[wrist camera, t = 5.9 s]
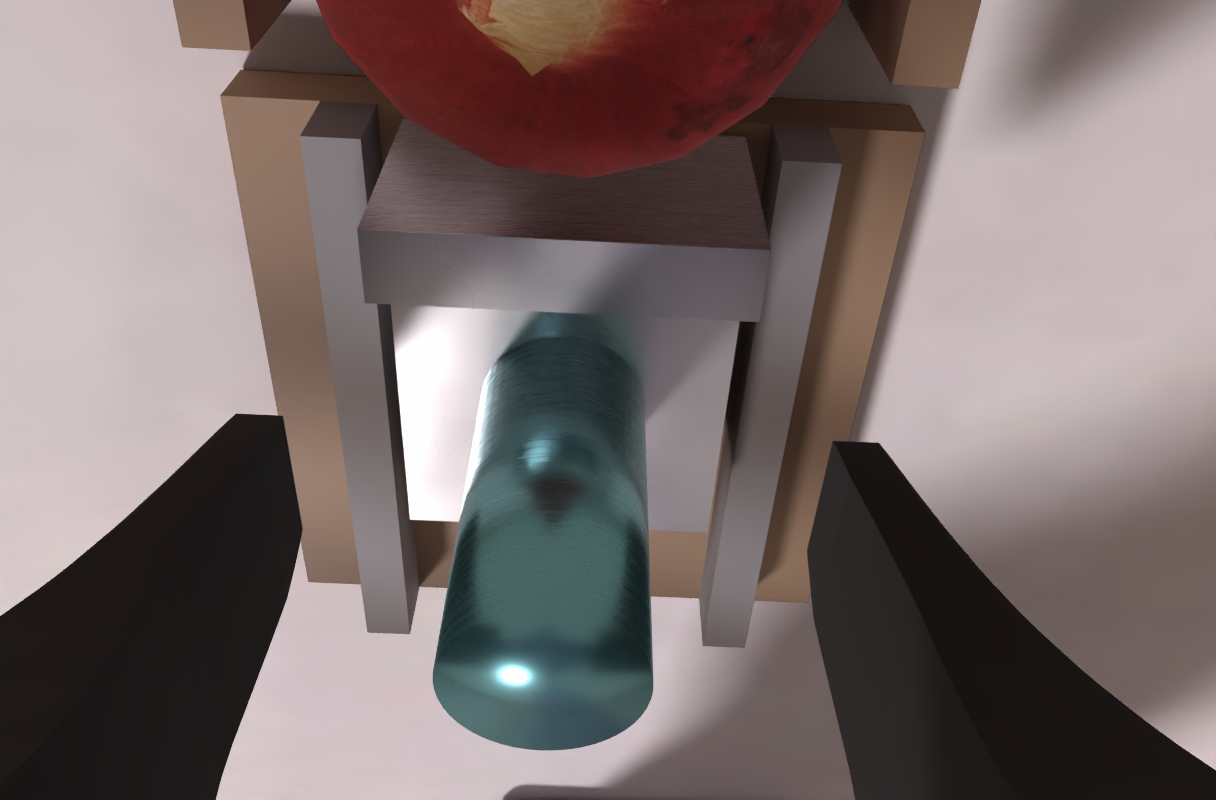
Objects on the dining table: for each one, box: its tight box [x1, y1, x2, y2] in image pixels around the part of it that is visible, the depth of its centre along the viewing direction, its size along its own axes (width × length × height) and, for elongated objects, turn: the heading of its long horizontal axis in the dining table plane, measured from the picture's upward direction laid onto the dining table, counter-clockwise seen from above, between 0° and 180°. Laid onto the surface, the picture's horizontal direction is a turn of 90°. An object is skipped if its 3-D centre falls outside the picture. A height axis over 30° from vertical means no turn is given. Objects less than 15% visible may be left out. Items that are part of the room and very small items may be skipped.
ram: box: [357, 119, 771, 750], centre depth 14 cm, size 6×5×7 cm
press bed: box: [173, 0, 981, 648], centre depth 14 cm, size 18×10×5 cm, turn 177°
